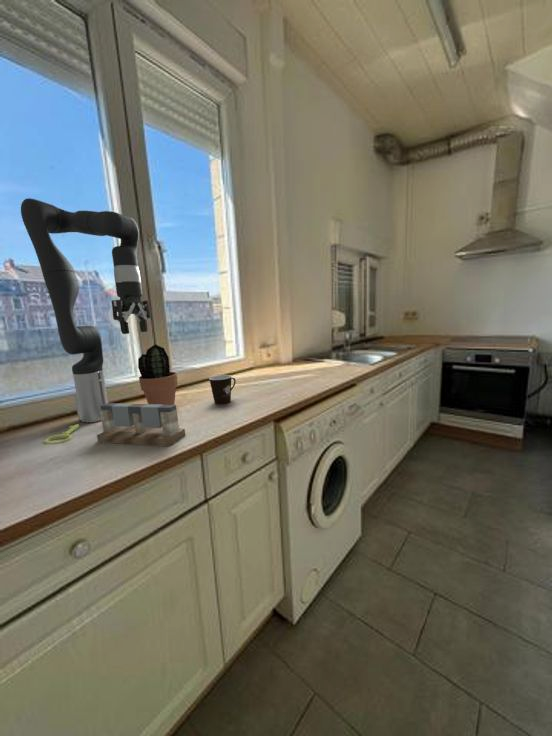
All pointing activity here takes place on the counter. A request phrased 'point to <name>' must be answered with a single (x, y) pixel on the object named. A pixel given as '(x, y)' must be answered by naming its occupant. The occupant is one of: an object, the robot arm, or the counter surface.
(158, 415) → the square weight dumbbell
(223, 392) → the coffee mug
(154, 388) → the potted plant
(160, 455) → the counter surface
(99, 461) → the counter surface
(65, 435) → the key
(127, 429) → the display stand
